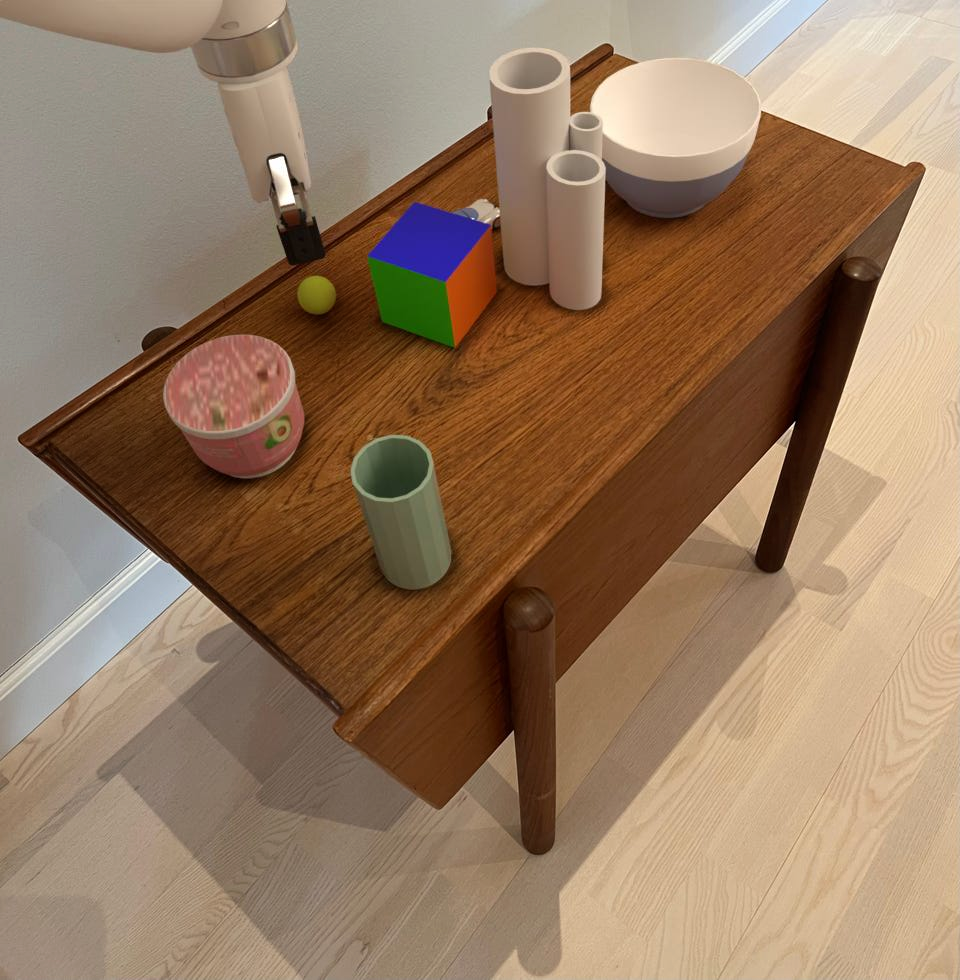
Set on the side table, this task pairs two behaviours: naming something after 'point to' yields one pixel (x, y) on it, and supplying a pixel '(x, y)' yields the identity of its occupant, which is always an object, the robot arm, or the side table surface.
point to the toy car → (482, 212)
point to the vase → (548, 178)
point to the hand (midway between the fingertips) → (299, 223)
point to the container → (237, 404)
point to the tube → (402, 510)
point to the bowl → (675, 132)
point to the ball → (316, 295)
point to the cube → (434, 273)
